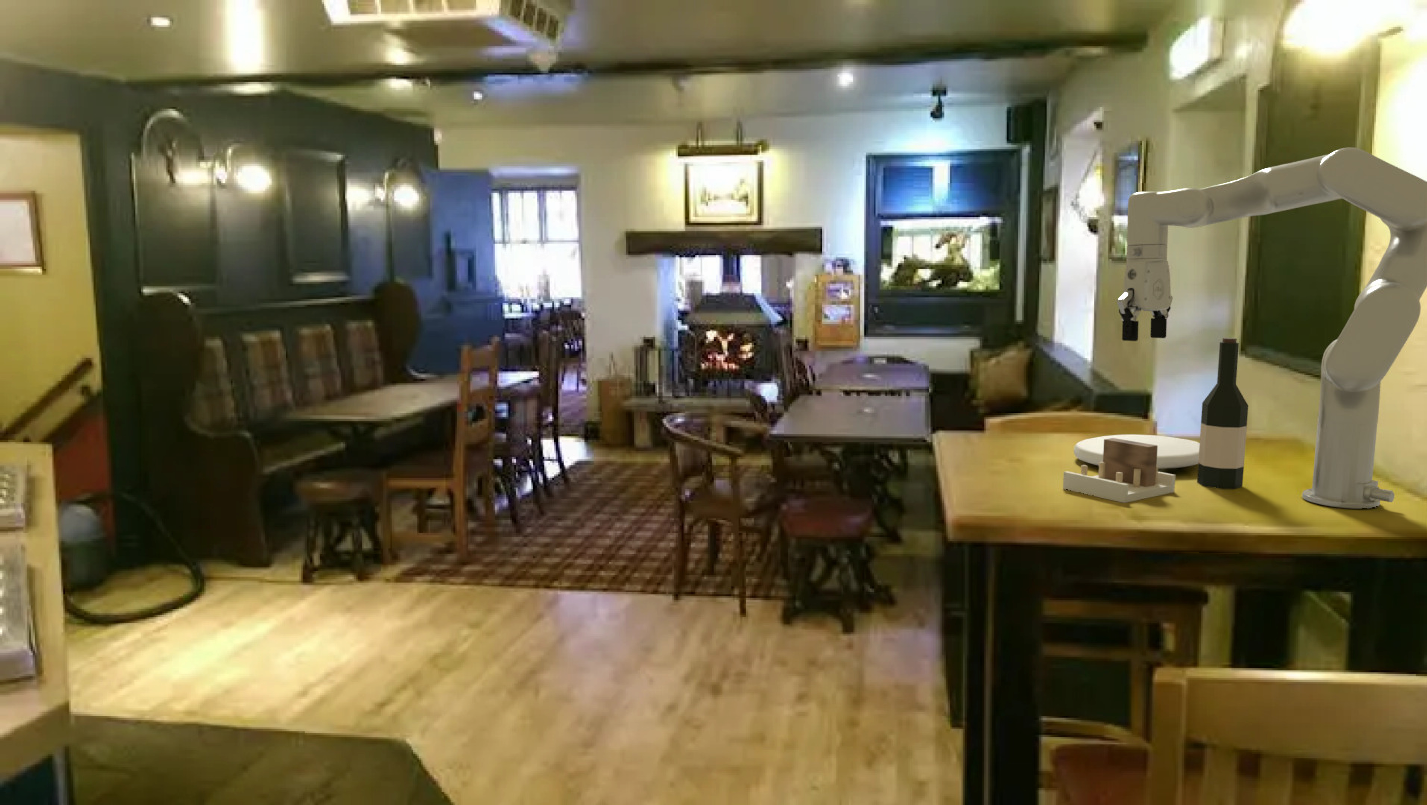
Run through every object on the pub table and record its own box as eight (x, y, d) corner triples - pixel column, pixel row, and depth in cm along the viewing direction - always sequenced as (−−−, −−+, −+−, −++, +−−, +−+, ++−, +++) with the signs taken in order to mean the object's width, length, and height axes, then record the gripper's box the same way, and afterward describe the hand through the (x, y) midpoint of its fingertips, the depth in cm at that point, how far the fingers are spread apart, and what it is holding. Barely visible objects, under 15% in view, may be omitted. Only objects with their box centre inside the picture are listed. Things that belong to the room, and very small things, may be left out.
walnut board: (1155, 485, 200) (1157, 445, 199) (1145, 487, 198) (1148, 447, 197) (1111, 476, 208) (1113, 437, 207) (1102, 477, 206) (1104, 439, 205)
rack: (1174, 492, 200) (1175, 467, 200) (1124, 502, 192) (1125, 477, 191) (1112, 479, 212) (1114, 455, 211) (1063, 488, 203) (1064, 464, 203)
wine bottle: (1217, 490, 202) (1228, 340, 198) (1187, 481, 210) (1197, 337, 205) (1251, 487, 204) (1262, 339, 200) (1221, 478, 212) (1231, 336, 208)
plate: (1090, 454, 216) (1060, 433, 242) (1092, 483, 216) (1062, 459, 243) (1227, 442, 212) (1182, 422, 239) (1229, 472, 213) (1183, 449, 239)
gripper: (1138, 254, 195) (1135, 342, 197) (1188, 253, 205) (1185, 337, 207) (1104, 255, 201) (1102, 341, 203) (1154, 254, 211) (1152, 336, 213)
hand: (1144, 339), depth 205 cm, fingers open, 9 cm apart
